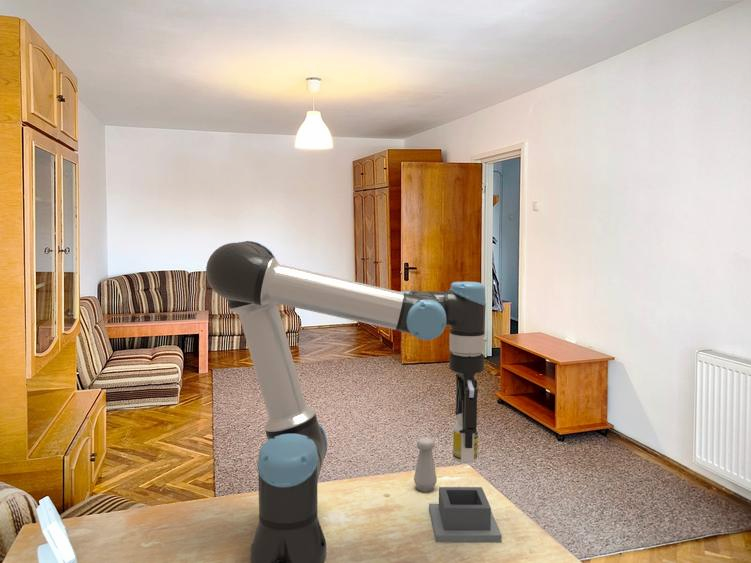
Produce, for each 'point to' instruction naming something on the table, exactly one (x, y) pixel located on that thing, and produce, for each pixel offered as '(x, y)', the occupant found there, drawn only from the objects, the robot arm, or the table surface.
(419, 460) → the salt shaker
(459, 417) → the supplement bottle
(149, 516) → the table surface
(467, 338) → the robot arm
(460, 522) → the socket board
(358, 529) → the table surface
